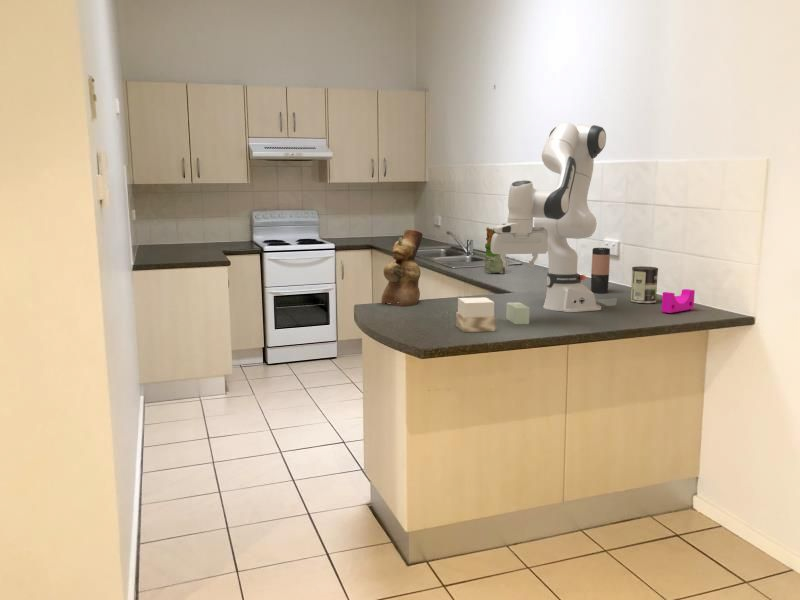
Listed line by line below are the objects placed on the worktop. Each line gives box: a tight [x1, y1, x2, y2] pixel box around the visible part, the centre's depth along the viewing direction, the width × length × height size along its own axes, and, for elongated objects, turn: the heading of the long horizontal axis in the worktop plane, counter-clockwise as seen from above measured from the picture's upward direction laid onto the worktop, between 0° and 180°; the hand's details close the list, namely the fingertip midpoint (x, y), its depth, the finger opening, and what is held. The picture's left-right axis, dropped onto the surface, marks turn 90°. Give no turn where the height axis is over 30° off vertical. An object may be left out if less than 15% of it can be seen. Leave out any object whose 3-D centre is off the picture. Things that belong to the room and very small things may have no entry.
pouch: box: [484, 227, 506, 275], centre depth 376 cm, size 11×12×25 cm
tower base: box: [455, 311, 497, 333], centre depth 240 cm, size 11×11×5 cm
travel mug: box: [590, 247, 611, 295], centre depth 312 cm, size 8×8×20 cm
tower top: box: [457, 296, 495, 318], centre depth 239 cm, size 10×10×5 cm
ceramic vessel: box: [380, 229, 423, 307], centre depth 287 cm, size 16×22×30 cm
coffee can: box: [630, 265, 659, 304], centre depth 291 cm, size 10×10×14 cm
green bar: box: [505, 302, 531, 325], centre depth 251 cm, size 5×11×6 cm, turn 8°
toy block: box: [661, 288, 696, 314], centre depth 274 cm, size 15×6×8 cm, turn 124°
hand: (518, 266), depth 248 cm, fingers open, 8 cm apart
